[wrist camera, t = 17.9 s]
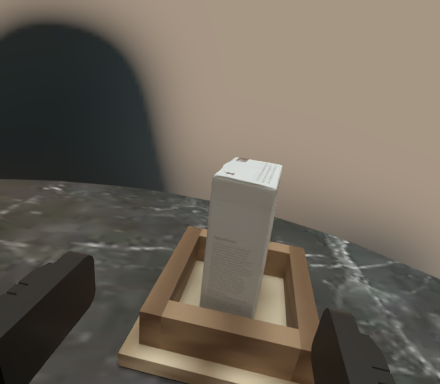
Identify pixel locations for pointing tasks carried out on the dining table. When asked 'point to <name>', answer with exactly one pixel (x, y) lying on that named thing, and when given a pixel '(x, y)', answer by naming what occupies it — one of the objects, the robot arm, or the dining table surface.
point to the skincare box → (239, 235)
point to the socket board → (226, 324)
